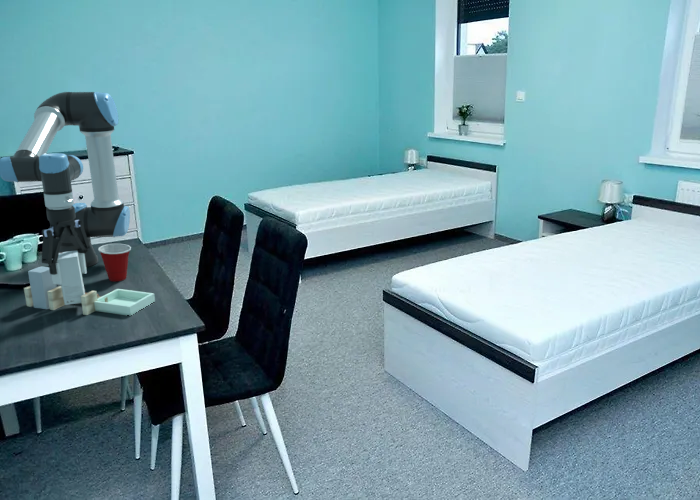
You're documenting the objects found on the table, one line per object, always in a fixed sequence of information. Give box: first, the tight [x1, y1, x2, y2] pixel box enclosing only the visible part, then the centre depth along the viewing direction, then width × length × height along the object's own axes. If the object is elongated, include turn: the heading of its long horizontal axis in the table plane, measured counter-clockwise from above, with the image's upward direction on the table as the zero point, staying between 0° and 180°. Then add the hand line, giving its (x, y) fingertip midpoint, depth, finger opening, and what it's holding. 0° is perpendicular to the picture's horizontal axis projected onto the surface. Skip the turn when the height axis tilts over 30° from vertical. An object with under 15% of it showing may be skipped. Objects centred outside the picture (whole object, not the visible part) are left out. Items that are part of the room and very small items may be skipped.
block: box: [27, 266, 58, 310], centre depth 174 cm, size 5×5×12 cm
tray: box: [94, 288, 156, 317], centre depth 176 cm, size 12×14×3 cm
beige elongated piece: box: [23, 285, 108, 316], centre depth 175 cm, size 9×24×6 cm, turn 73°
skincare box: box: [57, 250, 86, 306], centre depth 170 cm, size 8×6×15 cm
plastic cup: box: [97, 243, 132, 282], centre depth 199 cm, size 11×11×12 cm
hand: (70, 278), depth 171 cm, fingers closed on skincare box, 9 cm apart
